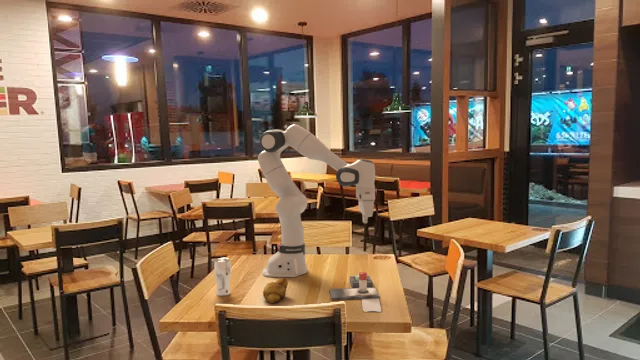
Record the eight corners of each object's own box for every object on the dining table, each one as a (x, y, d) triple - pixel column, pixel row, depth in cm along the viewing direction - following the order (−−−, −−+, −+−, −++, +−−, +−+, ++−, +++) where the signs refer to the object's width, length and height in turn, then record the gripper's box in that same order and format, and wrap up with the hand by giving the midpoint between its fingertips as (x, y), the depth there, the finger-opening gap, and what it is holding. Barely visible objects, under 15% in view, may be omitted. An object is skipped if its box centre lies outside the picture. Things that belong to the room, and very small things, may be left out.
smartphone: (360, 298, 191) (362, 313, 175) (360, 297, 191) (362, 311, 175) (379, 298, 191) (382, 313, 175) (379, 297, 191) (382, 311, 175)
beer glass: (223, 297, 192) (222, 263, 191) (211, 294, 196) (210, 260, 195) (234, 292, 198) (233, 259, 197) (223, 289, 202) (222, 256, 200)
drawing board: (331, 300, 188) (331, 297, 188) (329, 291, 199) (329, 288, 199) (379, 298, 189) (379, 295, 189) (374, 289, 200) (374, 286, 200)
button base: (352, 289, 201) (352, 282, 200) (349, 282, 210) (349, 276, 209) (372, 288, 201) (372, 282, 201) (369, 282, 210) (369, 275, 210)
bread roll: (280, 305, 183) (280, 286, 182) (257, 304, 185) (257, 285, 184) (289, 294, 195) (289, 276, 195) (267, 293, 197) (267, 275, 197)
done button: (356, 286, 203) (356, 278, 202) (354, 283, 208) (354, 274, 207) (367, 286, 203) (367, 277, 203) (365, 282, 208) (365, 274, 208)
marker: (359, 292, 192) (359, 274, 192) (358, 290, 196) (358, 272, 195) (367, 292, 193) (367, 274, 192) (366, 289, 196) (366, 271, 195)
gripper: (355, 190, 223) (355, 218, 225) (362, 196, 203) (361, 227, 204) (368, 190, 223) (367, 218, 225) (376, 196, 203) (375, 227, 205)
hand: (364, 222), depth 214 cm, fingers closed
